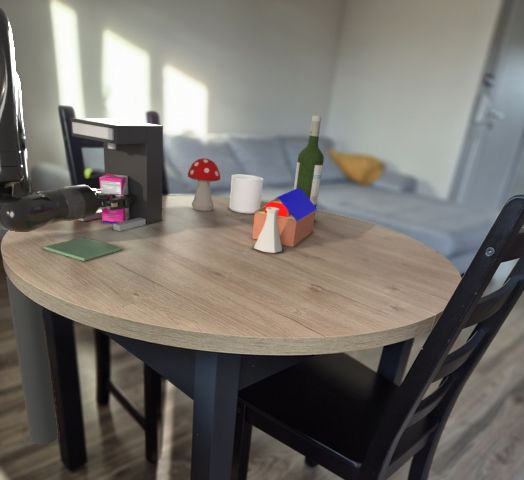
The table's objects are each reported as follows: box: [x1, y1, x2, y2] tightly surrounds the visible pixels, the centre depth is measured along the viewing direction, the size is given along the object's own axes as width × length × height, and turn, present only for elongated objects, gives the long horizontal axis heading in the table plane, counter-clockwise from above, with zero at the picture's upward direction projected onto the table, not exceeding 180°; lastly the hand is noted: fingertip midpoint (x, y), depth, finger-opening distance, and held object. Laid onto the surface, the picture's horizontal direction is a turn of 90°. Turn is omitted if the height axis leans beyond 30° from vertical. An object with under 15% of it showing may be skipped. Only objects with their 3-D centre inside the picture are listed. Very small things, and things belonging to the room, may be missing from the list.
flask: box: [253, 207, 283, 254], centre depth 117 cm, size 7×7×10 cm
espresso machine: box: [69, 117, 164, 232], centre depth 123 cm, size 14×18×24 cm
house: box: [251, 187, 318, 248], centre depth 131 cm, size 12×20×12 cm, turn 160°
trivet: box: [43, 236, 122, 262], centre depth 104 cm, size 11×11×1 cm
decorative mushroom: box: [187, 157, 221, 212], centre depth 148 cm, size 10×9×15 cm
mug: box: [228, 173, 264, 215], centre depth 156 cm, size 13×10×10 cm
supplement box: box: [98, 174, 130, 224], centre depth 124 cm, size 6×6×12 cm
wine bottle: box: [293, 114, 325, 220], centre depth 147 cm, size 8×8×30 cm
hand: (120, 195), depth 126 cm, fingers open, 8 cm apart
